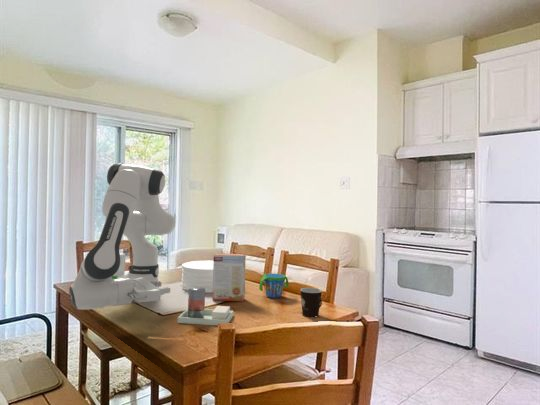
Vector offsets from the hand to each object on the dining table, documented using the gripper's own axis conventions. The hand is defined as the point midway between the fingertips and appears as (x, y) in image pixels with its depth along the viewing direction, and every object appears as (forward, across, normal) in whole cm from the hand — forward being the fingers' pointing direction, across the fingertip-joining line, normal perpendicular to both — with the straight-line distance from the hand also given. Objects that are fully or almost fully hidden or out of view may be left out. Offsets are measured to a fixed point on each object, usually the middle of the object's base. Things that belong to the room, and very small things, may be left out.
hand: (165, 286), depth 130 cm
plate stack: (+40, +48, +16) cm, 65 cm away
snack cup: (+58, +14, +15) cm, 62 cm away
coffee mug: (+53, -18, +14) cm, 58 cm away
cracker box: (+36, +19, +15) cm, 44 cm away
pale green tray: (+15, -3, +14) cm, 21 cm away
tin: (+12, -1, +13) cm, 18 cm away
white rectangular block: (+19, -7, +13) cm, 24 cm away
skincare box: (-1, +78, +16) cm, 79 cm away
